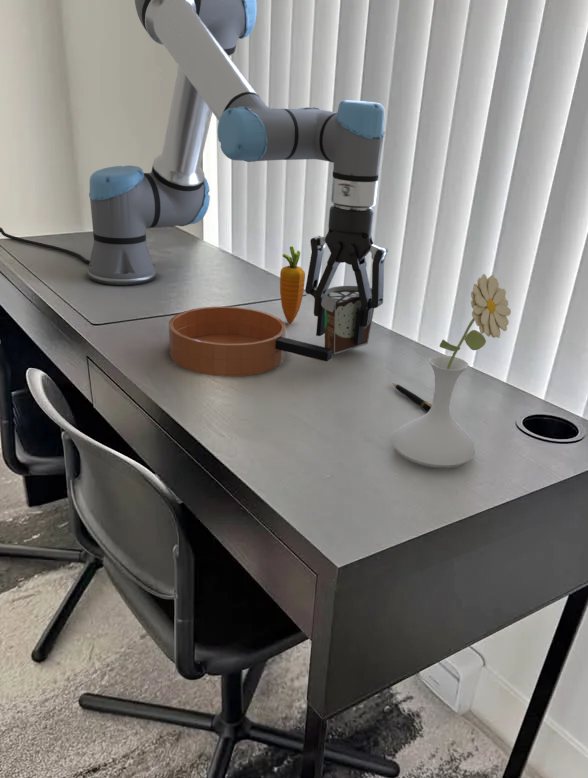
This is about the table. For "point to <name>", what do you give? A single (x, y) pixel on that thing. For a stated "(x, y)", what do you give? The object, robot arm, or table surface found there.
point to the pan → (226, 341)
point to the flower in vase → (436, 428)
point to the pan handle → (304, 349)
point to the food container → (342, 318)
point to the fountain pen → (414, 398)
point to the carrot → (291, 286)
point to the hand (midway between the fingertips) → (339, 338)
